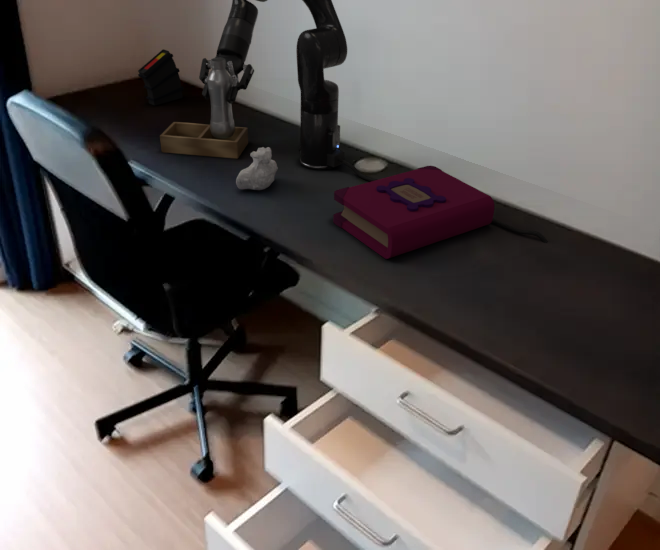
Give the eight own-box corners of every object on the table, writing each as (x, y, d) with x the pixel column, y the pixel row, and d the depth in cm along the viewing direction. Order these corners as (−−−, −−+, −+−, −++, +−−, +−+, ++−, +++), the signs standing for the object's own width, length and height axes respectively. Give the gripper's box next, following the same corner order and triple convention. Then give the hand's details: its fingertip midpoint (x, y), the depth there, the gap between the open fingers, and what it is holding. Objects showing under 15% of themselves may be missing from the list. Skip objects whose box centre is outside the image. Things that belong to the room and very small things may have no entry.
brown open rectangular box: (248, 143, 193) (247, 127, 190) (237, 158, 184) (237, 142, 181) (175, 137, 195) (173, 121, 193) (161, 152, 186) (159, 135, 184)
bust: (241, 203, 167) (260, 177, 158) (223, 177, 168) (241, 150, 159) (278, 188, 175) (298, 162, 166) (260, 163, 176) (279, 136, 167)
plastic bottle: (206, 139, 185) (200, 62, 175) (217, 130, 191) (211, 54, 180) (229, 142, 184) (224, 64, 173) (239, 133, 189) (235, 57, 179)
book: (491, 228, 155) (497, 196, 151) (389, 263, 142) (392, 229, 138) (428, 191, 170) (431, 162, 166) (330, 220, 156) (331, 188, 152)
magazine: (191, 90, 224) (170, 50, 213) (162, 117, 219) (139, 78, 208) (184, 88, 226) (163, 48, 215) (154, 114, 222) (131, 75, 210)
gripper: (204, 29, 182) (185, 89, 179) (256, 36, 178) (238, 97, 175) (215, 45, 189) (197, 103, 186) (265, 52, 185) (248, 111, 182)
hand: (217, 100), depth 180 cm, fingers closed on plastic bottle, 6 cm apart
